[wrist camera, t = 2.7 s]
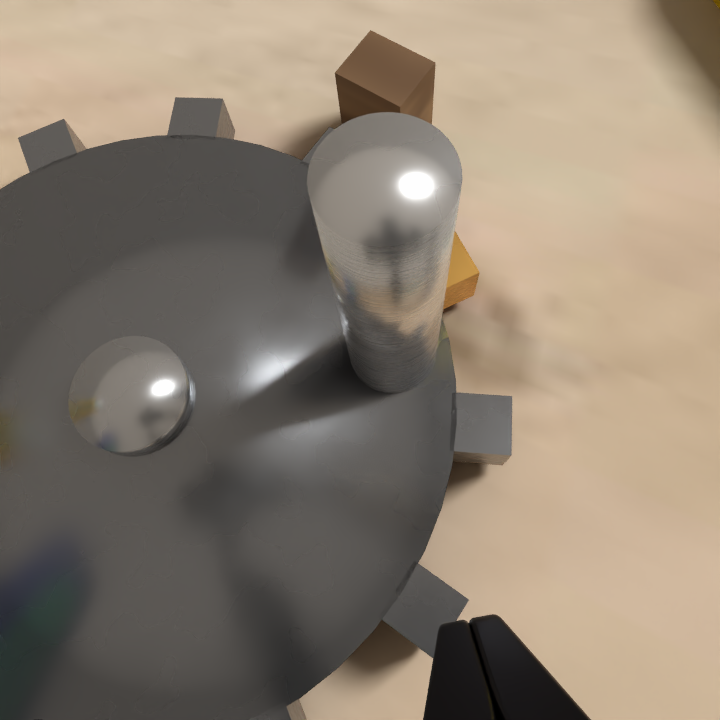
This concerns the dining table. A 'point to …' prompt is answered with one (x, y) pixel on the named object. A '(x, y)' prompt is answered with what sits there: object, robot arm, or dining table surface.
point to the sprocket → (225, 413)
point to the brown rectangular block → (385, 80)
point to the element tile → (717, 3)
